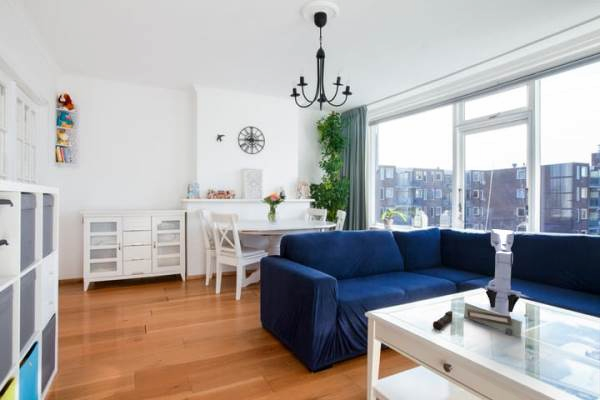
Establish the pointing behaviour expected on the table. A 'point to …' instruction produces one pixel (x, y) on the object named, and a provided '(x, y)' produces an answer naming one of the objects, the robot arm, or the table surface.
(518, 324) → the wall panel
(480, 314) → the grooved wooden rail
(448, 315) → the dark brown bar
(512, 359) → the table surface
